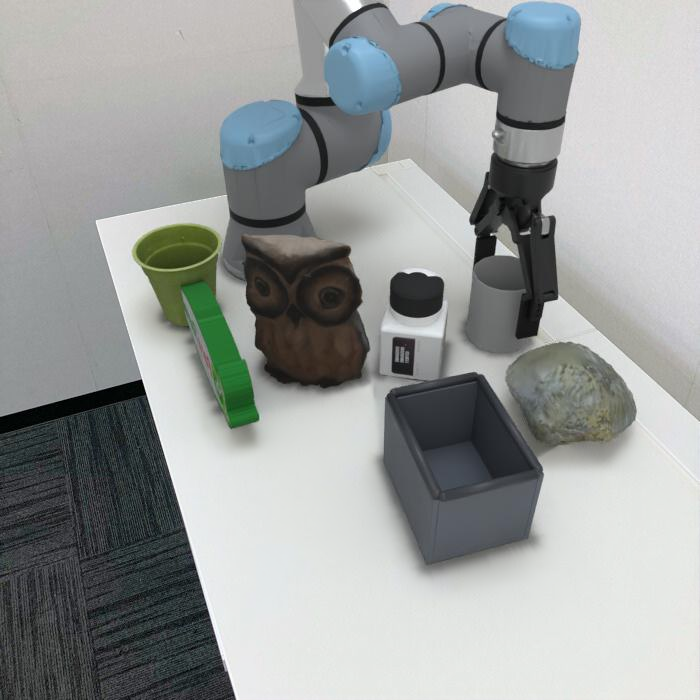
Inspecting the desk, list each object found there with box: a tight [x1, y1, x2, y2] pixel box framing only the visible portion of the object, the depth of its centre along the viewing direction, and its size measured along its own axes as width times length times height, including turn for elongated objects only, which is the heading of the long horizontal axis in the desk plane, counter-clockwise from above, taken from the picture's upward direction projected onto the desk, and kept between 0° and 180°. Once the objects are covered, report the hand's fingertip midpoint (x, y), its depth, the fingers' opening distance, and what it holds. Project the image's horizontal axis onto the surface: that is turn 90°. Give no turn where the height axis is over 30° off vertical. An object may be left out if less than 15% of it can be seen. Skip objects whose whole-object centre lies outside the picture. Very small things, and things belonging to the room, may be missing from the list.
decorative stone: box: [505, 340, 638, 447], centre depth 82 cm, size 14×15×10 cm
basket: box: [382, 371, 545, 565], centre depth 72 cm, size 15×11×11 cm
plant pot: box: [131, 222, 223, 327], centre depth 98 cm, size 12×12×11 cm
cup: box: [465, 254, 528, 354], centre depth 94 cm, size 8×8×10 cm
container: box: [378, 267, 450, 382], centre depth 89 cm, size 8×8×13 cm
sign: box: [180, 280, 260, 430], centre depth 88 cm, size 26×3×10 cm, turn 23°
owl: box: [241, 233, 371, 390], centre depth 86 cm, size 13×13×20 cm
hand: (502, 305), depth 94 cm, fingers open, 13 cm apart
